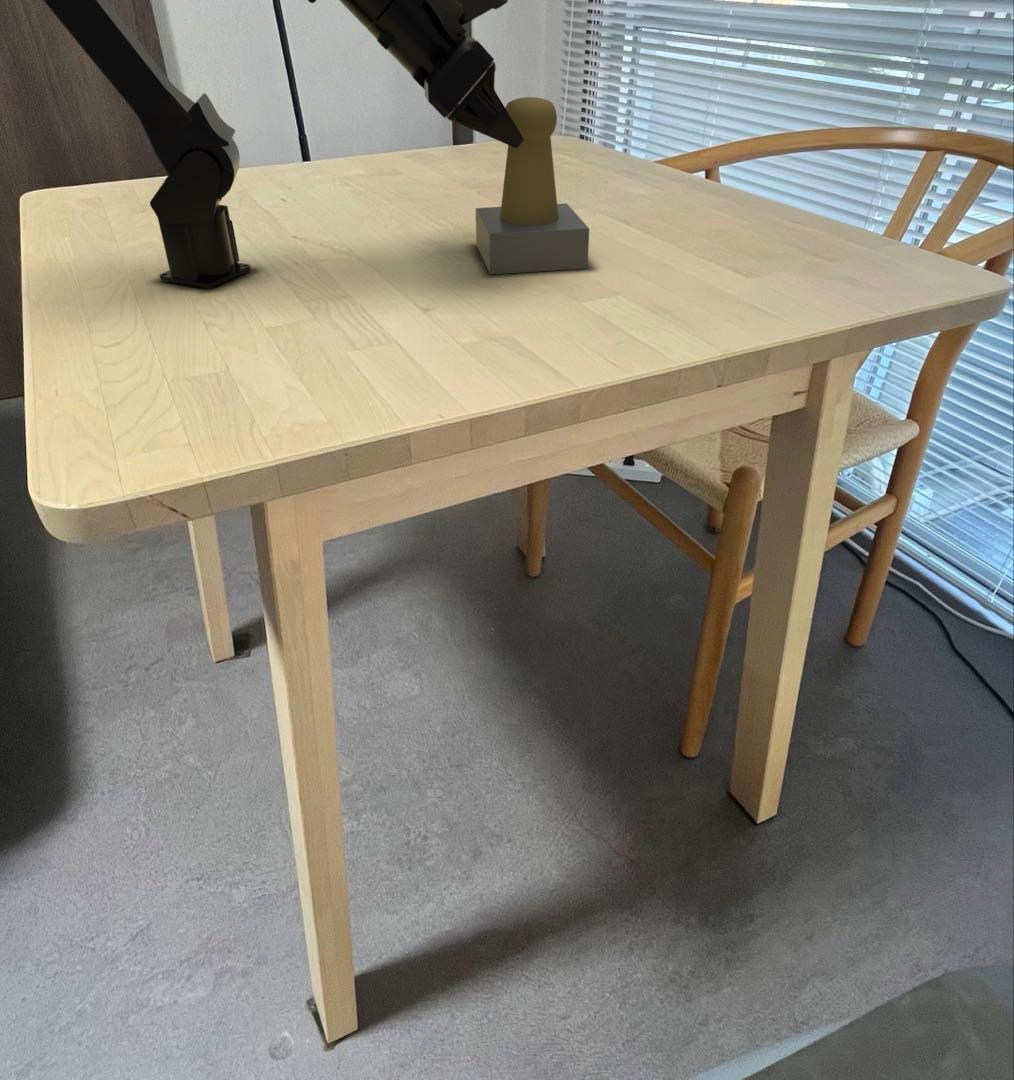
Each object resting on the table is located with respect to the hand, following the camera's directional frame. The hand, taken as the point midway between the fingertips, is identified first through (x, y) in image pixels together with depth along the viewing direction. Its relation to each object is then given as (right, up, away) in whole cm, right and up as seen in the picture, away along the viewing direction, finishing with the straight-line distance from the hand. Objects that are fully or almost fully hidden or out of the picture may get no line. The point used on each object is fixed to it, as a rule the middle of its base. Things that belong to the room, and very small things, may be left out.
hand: (511, 134), depth 84 cm
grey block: (+2, -10, +7) cm, 12 cm away
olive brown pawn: (+2, -6, +5) cm, 8 cm away
